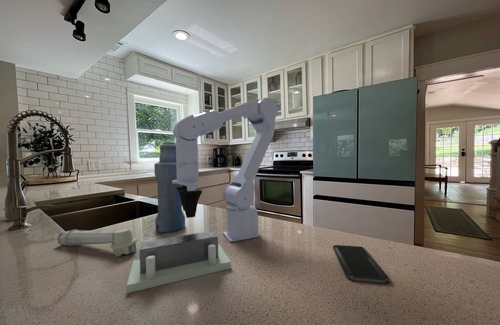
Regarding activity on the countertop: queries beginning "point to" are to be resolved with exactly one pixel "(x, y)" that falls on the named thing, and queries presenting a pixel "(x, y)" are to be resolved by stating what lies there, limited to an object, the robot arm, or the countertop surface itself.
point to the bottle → (168, 191)
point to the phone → (359, 265)
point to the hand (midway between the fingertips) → (188, 213)
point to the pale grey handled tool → (101, 239)
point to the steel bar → (177, 250)
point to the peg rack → (175, 270)
